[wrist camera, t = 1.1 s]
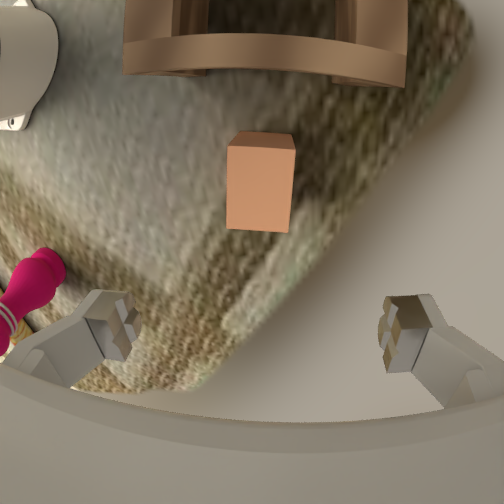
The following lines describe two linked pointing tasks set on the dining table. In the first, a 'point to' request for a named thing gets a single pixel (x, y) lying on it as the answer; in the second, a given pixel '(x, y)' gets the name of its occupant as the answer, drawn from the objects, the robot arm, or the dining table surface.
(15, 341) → the snack package
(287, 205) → the tall peach block
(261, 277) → the dining table surface
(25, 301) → the pepper mill
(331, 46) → the stand
